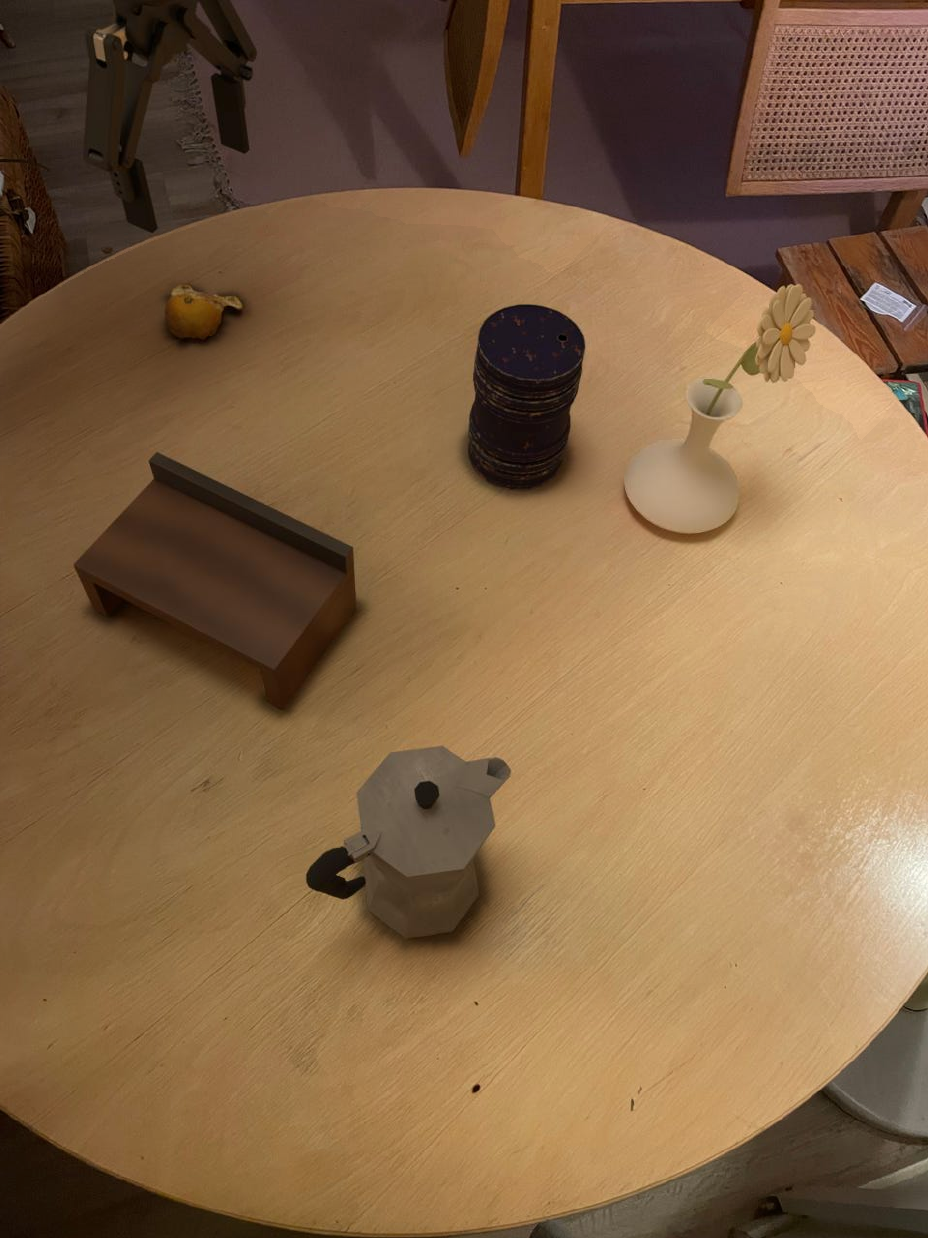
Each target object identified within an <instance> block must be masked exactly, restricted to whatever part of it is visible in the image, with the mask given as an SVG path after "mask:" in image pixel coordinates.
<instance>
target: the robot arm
mask: <svg viewBox="0 0 928 1238" xmlns="http://www.w3.org/2000/svg"><path fill="white" fill-rule="evenodd" d="M110 1H111V3H112V5H113V20H112V22H113V23H112V24H111V25H109V26H107V27H105V28H103V29H100V28H97V27H94V26H93V25H92V26H88V27H87V28H86V30H85V34H84V35H85V44H86V50H87V55H88V61H89V62H88V74H87V75H88V76H87V88H86V89H87V91H86V92H87V93H86V106H85V109H86V110H85V123H84V139H83V151H82V152H83V153H82V158H83V161H84V162H85V163H87V164H89V165H90V166H91V165H92V166H93V167H96V168H98V169H100V170H103V171H105V172H108V173H109V177H110V180H111V184H112V188H113V192H114V194H115V195H116V197H117V198H119V199H121V203H122V207H123V210H124V214H125V218H126V222H127V223H128V224H131V225H133V226H135V227H137V228H138V229H139V228H140V229H142V230H143V231H146V232H148V233H151V234H154V233H155V232H156V231H157V230H158V229H159V227H158V223H157V219H156V215H155V211H154V210H155V209H154V206H153V202H152V197H151V193H150V189H149V184H148V179H147V175H146V171H145V166H144V162H143V160H141V159H138V158H136V155H137V154H136V153H137V150H138V145H139V142H140V137H141V133H142V131H143V130H142V129H143V125H144V121H145V118H146V113H147V109H148V105H149V100H150V97H151V93H152V88H153V85H154V84H155V83H158V82H159V81H160V78H161V75H162V71H163V67H165V66H166V65H168V64H169V63H170V62H171V61H172V59H173V58H174V57H175V56H177V55H180V54H183V53H184V52H185V51H187V50H188V45H189V46H190V47H191V48H192V49H194V50H195V51H196V53H198V54H199V55H200V56H201V57H202V58H204V60H206V61H207V62H208V63H209V64H210V65H211V66H212V67H214V69H216V70H217V71H220V73H218V72H214V73H213V74H212V75H211V76H210V83H211V89H212V95H213V102H214V109H215V114H216V121H217V127H218V133H219V140H220V145H222V146H224V147H227V148H229V149H232V150H235V151H236V152H238V153H241V154H244V155H245V154H247V153H248V152H249V151H250V150H251V149H250V142H249V136H248V127H247V119H246V111H245V109H246V106H247V105H246V104H247V100H246V93H245V85H244V81H245V82H250V81H252V79H253V76H254V69H253V67H252V66H249V65H247V64H248V63H249V62H251V63H253V62H255V60H256V59H257V56H258V50H257V48H256V46H255V44H254V42H253V40H252V38H251V36H250V34H249V32H248V31H247V29H246V27H245V25H244V23H243V22H242V19H241V18H240V16H239V15H240V14H238V12H237V10H236V8H235V6H234V4H233V3H232V0H110ZM198 3H199V5H200V6H201V8H202V10H203V12H204V14H205V16H206V17H207V19H208V21H209V22H210V24H211V26H212V27H213V29H214V31H215V33H216V35H217V37H218V38H219V39H218V38H217V37H216V36H215V35H214V34H213V33H212V29H210V28H209V26H207V24H205V22H203V21H202V20H201V19H200V18H199V17H198V15H197V14H196V13H197V8H198ZM134 54H135V56H136V57H137V58H139V60H141V61H144V62H147V63H146V65H145V66H144V65H143V66H142V65H140V64H138V63H135V62H133V57H134ZM120 147H121V148H120Z"/></svg>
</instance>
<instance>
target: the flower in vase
mask: <svg viewBox="0 0 928 1238" xmlns="http://www.w3.org/2000/svg"><path fill="white" fill-rule="evenodd" d="M803 291H804V287H803V285H802V284H800V283H797V284H795V285H794V284H792V283H790V284H789V285H787V286H786V287H785V285H782V286H780V287H779V289H778V290H777V292H776V293H774V294H772V295H771V297H770V299H769V303H768V304H769V305H768V307H765V308H764V309H763V311H762V313H761V320H760V322H758V325H757V330H756V332H757V334H758V336H757V337H756V339H755V341H754V342H753V343H752V344H751V345H750V346H749V347H748V348H747V349H746V350H745V351H744V353H743V354H742V355H741V357H740V358H739V359H738V361H737V362H736V364H735V365H734V366H733V368H732V369H731V370H730V372H729V373H728V375H727V376H726V378H725V379H724V380H723V379H719V378H713V377H705V378H699V379H697V380H694V381H693V382H691V383H690V384H689V386H688V387H687V389H686V392H685V399H686V402H687V405H688V406H689V408H690V410H691V421H690V425H689V430H688V434H687V436H686V439H684V438H670V439H662V440H658V441H655V442H652V443H650V444H648V445H646V446H644V447H643V448H641V449H640V450H639V451H638V452H637V453H636V454H635V455H634V456H633V457H632V458H631V460H630V461H629V462H628V464H627V466H626V468H625V471H624V476H623V483H624V489H625V494H626V496H627V498H628V499H629V501H630V503H631V504H632V506H633V507H634V508H635V510H636V511H637V512H638V513H639V514H640V515H641V516H642V517H643V518H644V519H645V520H647V521H648V522H650V523H651V524H653V525H655V526H657V527H659V528H661V529H663V530H666V531H670V532H674V533H679V534H699V533H704V532H708V531H712V530H714V529H716V528H719V527H721V526H722V525H724V524H725V523H727V522H728V521H729V520H730V519H731V518H732V517H733V515H734V514H735V512H736V511H737V508H738V506H739V503H740V498H741V497H740V496H741V495H740V494H741V493H740V484H739V480H738V477H737V475H736V472H735V470H734V469H733V467H732V465H730V463H729V461H727V459H725V458H724V457H723V456H722V455H721V454H720V453H718V451H716V450H715V449H713V448H711V443H712V441H713V438H714V437H715V434H716V433H717V431H718V429H719V428H720V427H721V425H722V424H723V423H724V422H725V421H726V420H730V419H733V418H734V417H735V416H737V415H738V414H739V412H741V410H742V408H743V398H742V395H741V393H740V392H739V390H738V389H737V388H736V387H735V386H733V385H732V384H731V383H729V382H730V380H731V379H732V377H733V376H734V375H735V373H736V372H737V370H738V369H739V367H740V366H741V369H742V370H743V371H744V372H745V373H746V374H747V375H749V376H752V377H753V376H756V375H759V374H761V375H763V380H764V381H765V383H769V382H771V383H772V384H775V383H777V382H779V380H780V378H781V380H782V381H783V382H784V383H786V382H787V381H788V380H789V379H790V380H791V379H792V378H793V377H794V376H795V375H794V374H795V369H796V364H798V365H799V366H803V365H805V364H806V362H807V355H806V352H808V351H809V350H810V348H811V341H810V340H809V339H810V338H812V337H813V336H814V335H815V334H816V326H815V325H814V324H812V323H811V322H812V321H813V319H814V315H815V312H814V310H812V309H811V308H812V305H813V300H812V298H811V297H807V294H806V293H805V292H804V293H803Z"/></svg>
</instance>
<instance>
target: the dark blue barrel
mask: <svg viewBox="0 0 928 1238" xmlns="http://www.w3.org/2000/svg"><path fill="white" fill-rule="evenodd" d="M476 345H477V346H476V352H475V355H474V362H473V363H474V364H473V373H472V382H473V389H474V393H475V394H474V400H473V403H472V404H471V409H470V410H469V411H470V412H469V415H468V417H469V418H468V429H467V430H468V432H467V433H468V435H467V436H468V445H467V456H468V460H469V463H470V465H471V467H472V469H473V471H475V473H476V474H477V475H478V476H479V477H481V478H482V479H483V480H485V481H486V482H487V483H489V484H490V485H493V486H495V487H497V488H501V489H505V490H511V491H527V490H533V489H536V488H538V487H542V486H544V485H545V484H547V483H548V482H550V481H551V480H552V479H554V477H556V475H558V473H559V471H560V469H561V467H562V464H563V458H564V454H565V451H566V449H567V445H568V441H569V435H570V433H571V429H572V428H571V425H572V423H571V422H572V421H571V408H572V406H573V404H574V402H575V400H576V399H577V395H578V393H579V388H580V383H581V377H582V372H583V363H584V362H583V361H584V359H585V354H586V353H585V352H586V339H585V335H584V334H583V332H582V330H581V328H580V327H579V326H578V324H577V323H576V322H575V321H574V320H573V319H572V318H570V317H569V316H567V314H565V313H562V312H561V311H558V310H557V309H555V308H552V307H549V306H545V305H538V304H533V303H532V304H530V303H521V304H519V303H518V304H513V305H509V306H505V307H502V308H500V309H498V310H496V311H494V312H492V313H491V314H490V315H489V316H488V317H486V319H485V320H484V321H483V322H482V324H481V325H480V328H479V330H478V334H477V344H476Z"/></svg>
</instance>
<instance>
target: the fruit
mask: <svg viewBox="0 0 928 1238" xmlns="http://www.w3.org/2000/svg"><path fill="white" fill-rule="evenodd" d="M170 295H171V296H170V297H169V299H168V301H167V302H166V305H165V309H164V315H165V317H164V319H165V324H166V326H167V327H168V331H169V332H170V335H171V336H172V337H174V338H179V339H184V338H191V339H195V338H197V339H200V340H205V339H206V338H207V337H212V336H213V335H215V334H217V330H218V328H219V327H220V326H219V325H220V324H222V313H223V311H224V309H225V308H226V307H227V306H231V307H233V308H234V309H236V310H237V311H240V310H243V304H242V302H241V301H240V299H239V298H238V297H237V296H235V295H228V296H220V295H218V294H217V293H214V294H213V295H212V296H210V295H208V294H206V293H204V292H200V291H196V290H194V289H193V288H192V286H190V285H188V284H180V285H178V286H176V287H174V288H172V290H171V294H170Z"/></svg>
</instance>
